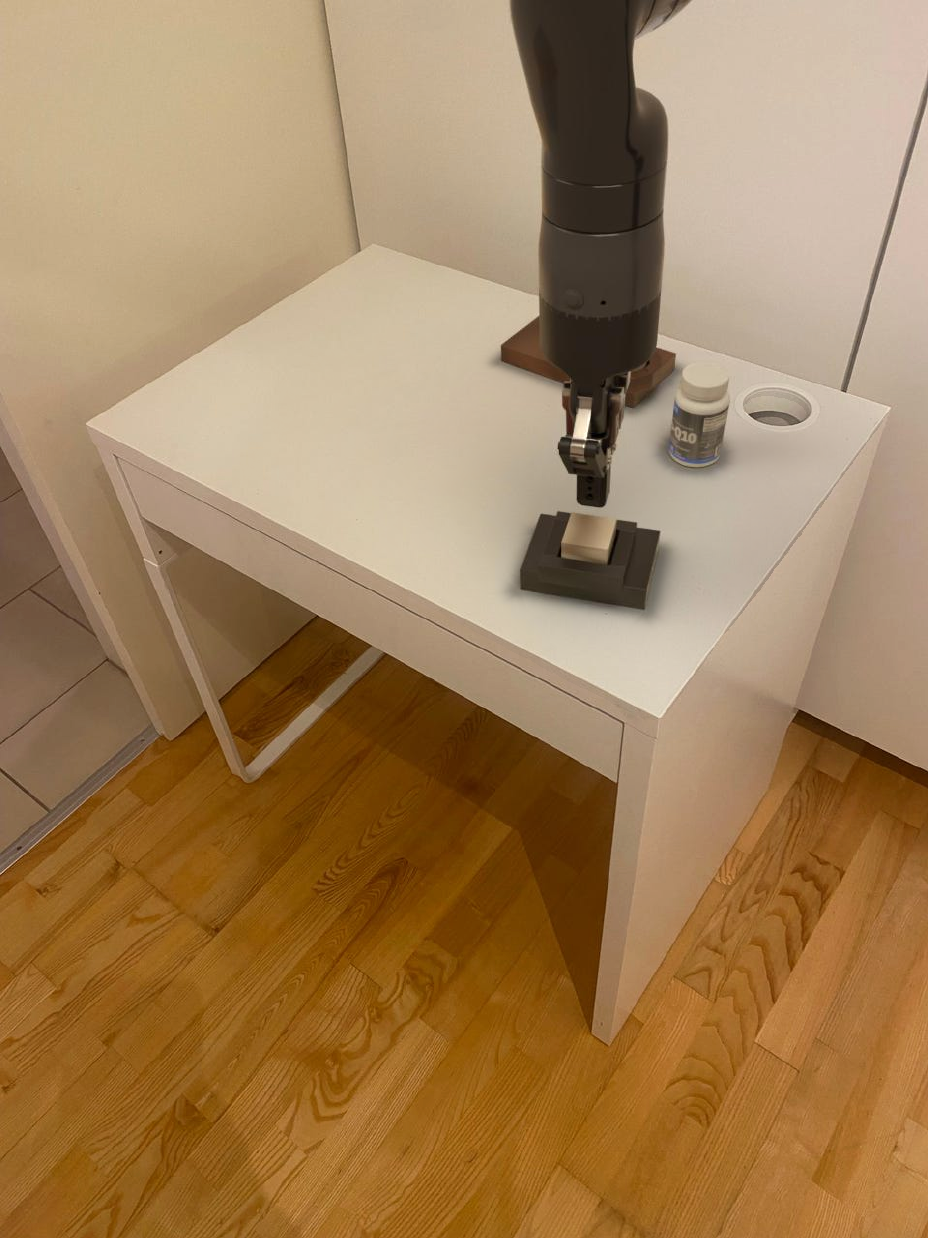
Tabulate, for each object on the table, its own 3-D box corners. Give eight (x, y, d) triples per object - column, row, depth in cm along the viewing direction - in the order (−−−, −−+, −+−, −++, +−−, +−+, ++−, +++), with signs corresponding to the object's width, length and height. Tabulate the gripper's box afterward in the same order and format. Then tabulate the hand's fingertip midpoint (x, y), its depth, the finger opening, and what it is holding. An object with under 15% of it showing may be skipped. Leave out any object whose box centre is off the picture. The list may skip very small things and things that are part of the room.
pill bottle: (657, 448, 88) (666, 369, 82) (699, 431, 90) (710, 352, 84) (689, 475, 86) (700, 395, 79) (731, 457, 87) (745, 377, 81)
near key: (615, 535, 75) (616, 518, 74) (607, 566, 73) (608, 549, 72) (570, 528, 76) (571, 511, 75) (561, 558, 74) (561, 542, 73)
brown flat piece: (683, 372, 97) (687, 342, 94) (637, 417, 92) (639, 385, 89) (544, 327, 104) (544, 297, 102) (495, 365, 100) (493, 335, 97)
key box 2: (658, 550, 79) (662, 513, 76) (642, 618, 74) (646, 581, 71) (540, 532, 82) (540, 496, 79) (517, 597, 76) (516, 561, 74)
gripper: (642, 342, 54) (627, 567, 66) (677, 236, 62) (657, 453, 75) (513, 331, 55) (522, 551, 68) (563, 229, 64) (563, 442, 76)
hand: (593, 499), depth 71 cm, fingers closed
